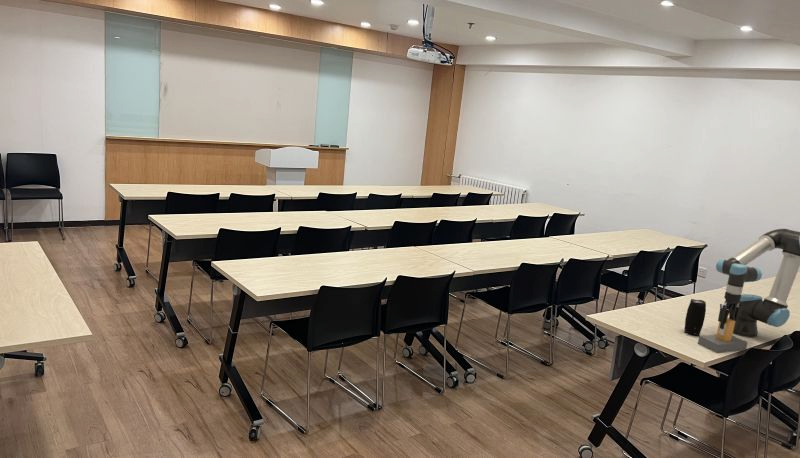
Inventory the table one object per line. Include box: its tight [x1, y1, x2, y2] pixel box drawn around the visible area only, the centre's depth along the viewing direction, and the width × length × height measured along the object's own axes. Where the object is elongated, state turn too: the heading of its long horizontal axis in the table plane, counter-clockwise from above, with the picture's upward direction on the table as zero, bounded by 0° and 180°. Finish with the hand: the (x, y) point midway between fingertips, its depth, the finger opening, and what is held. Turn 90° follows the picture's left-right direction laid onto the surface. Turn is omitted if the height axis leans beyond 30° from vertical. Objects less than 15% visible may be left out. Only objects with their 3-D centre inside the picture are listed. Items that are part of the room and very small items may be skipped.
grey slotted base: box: [697, 334, 748, 354], centre depth 319 cm, size 12×22×4 cm, turn 112°
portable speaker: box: [684, 298, 707, 337], centre depth 335 cm, size 9×9×20 cm
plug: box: [715, 317, 735, 342], centre depth 318 cm, size 6×4×14 cm, turn 22°
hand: (724, 334), depth 318 cm, fingers closed on plug, 4 cm apart
